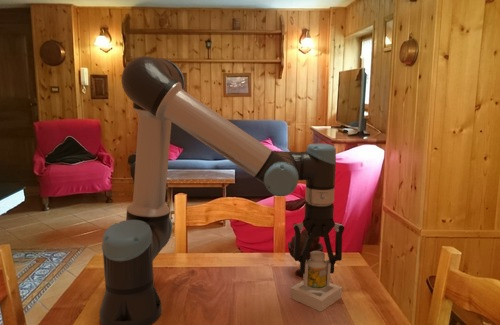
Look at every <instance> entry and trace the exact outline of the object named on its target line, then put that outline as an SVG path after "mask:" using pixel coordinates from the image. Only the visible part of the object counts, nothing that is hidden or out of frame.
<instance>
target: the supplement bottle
mask: <svg viewBox="0 0 500 325" xmlns="http://www.w3.org/2000/svg"><path fill="white" fill-rule="evenodd" d="M325 255H326V254H325V253H324V251H323V252H321V251H312V252H310V259H309V260H308V284H307V287H308V288H309V289H311V290H316V291H320V290H323V289H325V288H326V279H327V262H326V258H325V257H326V256H325Z"/></svg>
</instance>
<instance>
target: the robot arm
mask: <svg viewBox="0 0 500 325" xmlns="http://www.w3.org/2000/svg"><path fill="white" fill-rule="evenodd" d="M121 73H122V74H121V85H122V86H121V87H122V89H123V92H124V93H125V95H126V96H127V98H128V99H130V101H131V102H133V105H132V109H133V111H134V112H135V113H136V114H137V116H138V123H137V135H136V137H137V138H136V154H135V167H134V181H133V182H134V183H133V198H132V202H130V204H129V205H128V206H127V207H126V218H125V220H121V221H120V222H118V223H116V222H115V223H114V224H112V225H110V226H109V227H107V228H106V229H105V231H104V232H103V235H102V244H101V250H102V258H103V270H104V286H105V291H104V294H103V297H102V301H101V305H100V309H99V322H100V324H101V325H152V324H154V323H155V322H156V321H157V320H159V318H160V317H161V315H162V311H163V310H162V308H163V307H162V301H161V299H160V296H159V293H158V291H157V288H156V286H155V283H154V267H153V266H154V260H155V259H156V257H157V256H158V255H159V254H160V252H161V251H162V250H163V249H164V247H166V245H167V244H168V242H169V241H170V238H171V236H172V232H173V223H172V220H171V218H170V213H171V212H170V210H171V209H170V208H169V206H168V205H167V204H166V191H167V182H168V170H169V169H168V168H169V157H170V145H171V132H172V123H173V124H174V125H176V126H177V127H178V128H180V129H182V130H183V131H185V132H187V134H189V135H190V136H192V137H193V138H195V139H197V140H198V141H200V142H201V143H203V144H204V145H205V146H207V147H209V148H210V149H211V150H213V151H215V152H216V153H217V154H219V155H221V156H222V157H224V158H225V159H227V160H228V161H229V162H231V163H233V164H234V165H236V166H237V167H239V168H240V169H242V170H243V171H245V172H246V173H247V174H249V175H251V176H252V177H253V178H255V179H256V180H258V181H259V182H261V183H262V184H263V185H264V187H265V188H266V190H267V191H268V192H269V193H270V194H271V195H273V196H276V197H286V196H289V195H291V194H292V193H293V192H294V191H295V190H296V188H297V187H298V182H299V181H305V199H304V200H305V203H304V218H303V220H302V222H300V223H296V222H294V223H293V225H292V227H293V229H294V236H295V239H294V255H293V256H294V258H293V259H294V261H295V262H298V263H299V269H300V272H301V274H303V278H302V281H303V283H304V286H307V284H308V262H307V260H306V259H307V256H308V253H309V250H310V247H311V244H312V241H313V239H314V237H318V236H320V238H323V241H324V245H325V249H326V253H327V256H328V259H325V261H326V262H327V279H326V285H327V286H330V283H331V274H334V273H335V264H336V262H338V261H339V262H340V261H342V260H343V258H342V256H343V254H342V253H343V252H342V251H343V233H344V230H345V226H344V225H343V223H341V222H339V223H337V222H335V220H334V210H335V205H334V202H335V183H336V173H337V172H336V170H337V150H336V147H335V146H334V145H332V144H329V143H320V142H319V143H310V144H308V145H307V147H306V151H284V150H281V151H278V150H273V149H271V148H269V147H268V146H267V145H265V144H264V143H262V142H260V141H259V140H258V139H256V138H255V137H254V136H252V135H250V134H249V133H247V132H246V131H245V130H243V129H241V128H240V127H238V126H237V125H235V124H234V123H232V122H231V121H230V120H228V119H227V118H225V117H223V115H220V114H219V113H217V111H214V109H211V108H210V107H209V106H207V105H205V103H203V102H201V101H200V100H198V99H197V98H196V97H194V96H192V95H191V94H190V93H188V92H186V91H185V77H184V74H183V72H182V71H181V69H180V68H179V67H178V65H176V64H175V63H174V62H172V61H171V60H168V59H164V58H159V57H154V56H153V57H152V56H147V55H144V56H139V57H135V58H134V59H132V60H130V61H129V62H128V63H127V64H126V66H125V67H124V68H123V71H122V72H121ZM303 228H304V229H306V230H307V231H308V233H307V237H306V240H305V243H304V246H303V249H302V252H301V255H299V252H300V237H301V235H300V233H301V232H302V231H303ZM332 230H335V241H334V242H335V246H334V249H335V250H334V253H333V248H332V243H331V238H330V235H329V234H330V232H331V231H332Z"/></svg>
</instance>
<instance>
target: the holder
mask: <svg viewBox="0 0 500 325" xmlns="http://www.w3.org/2000/svg"><path fill="white" fill-rule="evenodd" d="M342 290H343V287H342V286H340V285H338V284H337V285H336V284H334V283H332V282H330V286H327V285H326V288H325V289H323V290H320V291H316V290H311V289H309V288H308V287H307V286H304V283H303V280H302V281H300V282H298V283H296V284H295V285H293V286H291V287H290V299H292V300H294V301H296V302H299V303H300V304H303V305H305V306H308V307H309V308H312V309H314V310H317V311H318V312H322V311H324V310H326V309H328V307H330V306H332V305H333V304H334V303H336V302H338V301H339V300H340V299H341V298H342V294H343V293H342Z"/></svg>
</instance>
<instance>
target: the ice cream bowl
mask: <svg viewBox="0 0 500 325" xmlns="http://www.w3.org/2000/svg"><path fill="white" fill-rule="evenodd" d="M307 233H308V231H307V230H306V229H305V228H304V229H302V232H300V235H301V237H300V252H299V255H301V252H302V249H303V246H304V243H305V240H306V237H307ZM294 239H295V235H294V236H293V237H291V241H289V242H287V248H288V252H289V254H290V256H291V257H292V258H293V259H294V256H293V255H294ZM320 241H321V237H320V236H318V237H314V239H313V241H312V244H311V247H310V250H309V253H308V256H307V259H306V260H307V262H308V260H309V259H310V252H312V251H321V252H323V253H324V245H323V244H322V243H321V242H320ZM295 276H297V277H298V278H301V279H303V274H301V272H300V268H299V269H298V270H296V272H295Z"/></svg>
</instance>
